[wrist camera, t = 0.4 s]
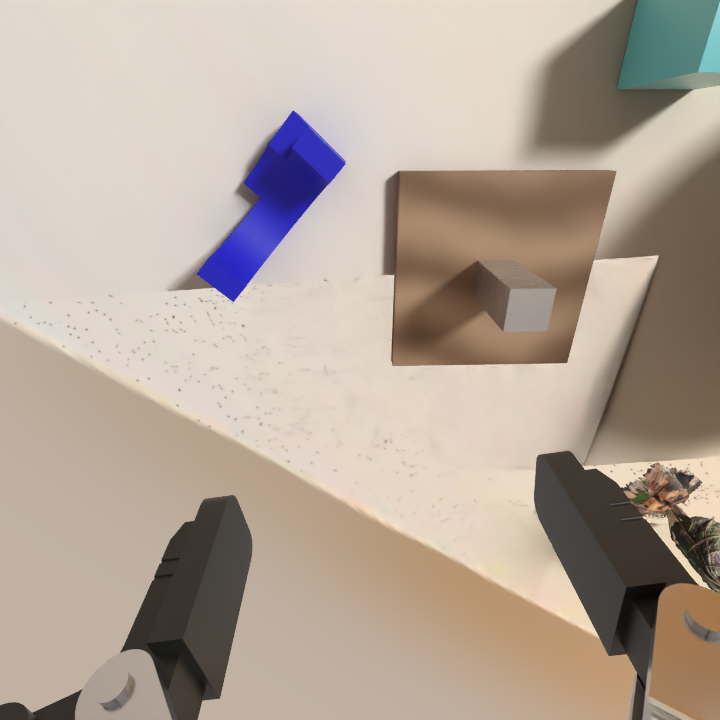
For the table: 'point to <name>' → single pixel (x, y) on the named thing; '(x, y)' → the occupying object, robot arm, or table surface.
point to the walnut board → (490, 242)
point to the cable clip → (274, 203)
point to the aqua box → (673, 45)
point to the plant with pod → (680, 518)
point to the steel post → (513, 295)
